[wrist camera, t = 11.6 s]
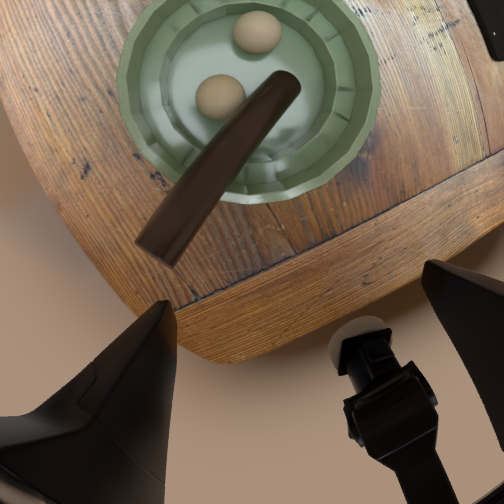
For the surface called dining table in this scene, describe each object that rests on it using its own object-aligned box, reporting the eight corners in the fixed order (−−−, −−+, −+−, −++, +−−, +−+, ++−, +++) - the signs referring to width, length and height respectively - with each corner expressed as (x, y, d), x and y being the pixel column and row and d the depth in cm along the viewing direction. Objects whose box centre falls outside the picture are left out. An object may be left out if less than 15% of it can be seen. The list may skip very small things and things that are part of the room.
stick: (265, 83, 17) (136, 246, 14) (277, 63, 15) (130, 239, 12) (293, 102, 17) (172, 270, 14) (307, 83, 15) (172, 268, 12)
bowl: (351, 173, 20) (384, 190, 16) (159, 197, 20) (142, 222, 15) (333, -3, 14) (361, -28, 9) (133, 14, 13) (110, -10, 9)
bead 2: (271, 67, 15) (275, 41, 12) (226, 55, 15) (223, 29, 12) (285, 35, 15) (291, 9, 12) (243, 24, 15) (242, -3, 12)
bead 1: (237, 132, 17) (249, 110, 14) (190, 126, 16) (194, 102, 14) (240, 94, 17) (252, 69, 14) (196, 88, 17) (201, 61, 14)
